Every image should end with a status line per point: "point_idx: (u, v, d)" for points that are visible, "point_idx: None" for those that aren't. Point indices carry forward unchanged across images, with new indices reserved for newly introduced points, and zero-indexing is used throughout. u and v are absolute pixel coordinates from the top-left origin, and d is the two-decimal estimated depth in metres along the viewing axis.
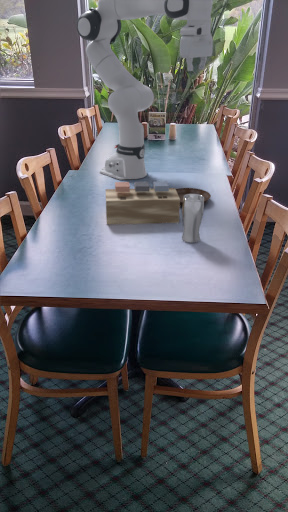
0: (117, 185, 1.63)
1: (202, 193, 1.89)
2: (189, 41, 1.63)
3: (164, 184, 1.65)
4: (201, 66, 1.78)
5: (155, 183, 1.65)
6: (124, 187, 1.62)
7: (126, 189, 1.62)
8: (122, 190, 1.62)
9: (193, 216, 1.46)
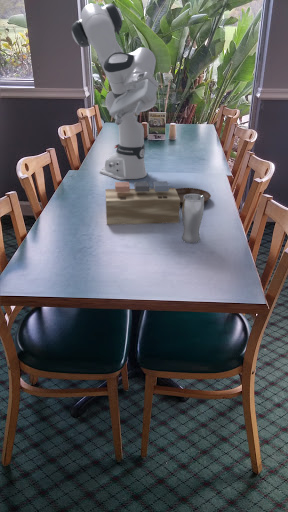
0: (117, 185, 1.63)
1: (202, 193, 1.89)
2: (155, 88, 1.53)
3: (164, 184, 1.65)
4: (120, 120, 1.59)
5: (155, 183, 1.65)
6: (124, 187, 1.62)
7: (126, 189, 1.62)
8: (122, 190, 1.62)
9: (193, 216, 1.46)
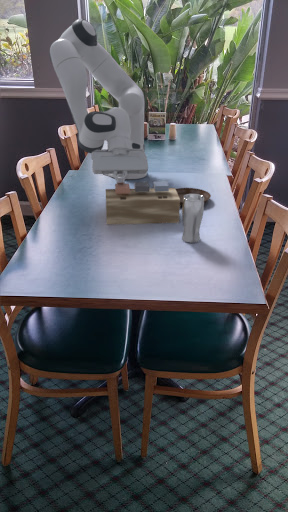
0: (117, 187, 1.63)
1: (202, 193, 1.89)
2: None
3: (164, 184, 1.65)
4: None
5: (155, 183, 1.65)
6: (124, 188, 1.62)
7: (126, 190, 1.62)
8: (122, 192, 1.63)
9: (193, 216, 1.46)
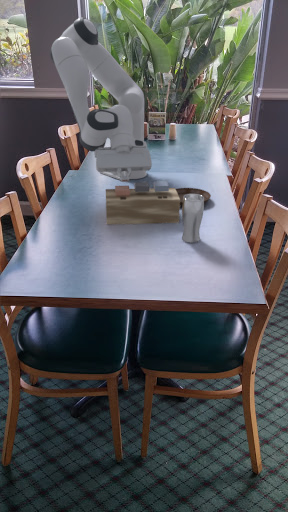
0: (117, 189, 1.63)
1: (202, 193, 1.89)
2: None
3: (164, 184, 1.65)
4: None
5: (155, 183, 1.65)
6: (124, 191, 1.62)
7: (126, 192, 1.63)
8: (122, 194, 1.63)
9: (193, 216, 1.46)
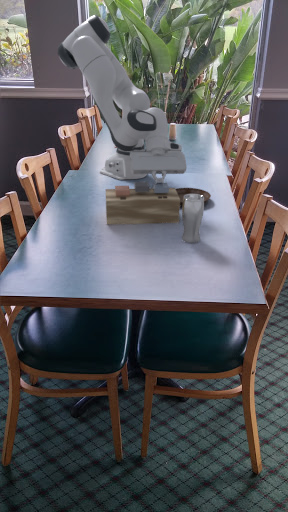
0: (117, 189, 1.63)
1: (202, 193, 1.89)
2: None
3: (163, 185, 1.65)
4: None
5: (155, 185, 1.65)
6: (124, 191, 1.62)
7: (126, 192, 1.63)
8: (122, 194, 1.63)
9: (193, 216, 1.46)
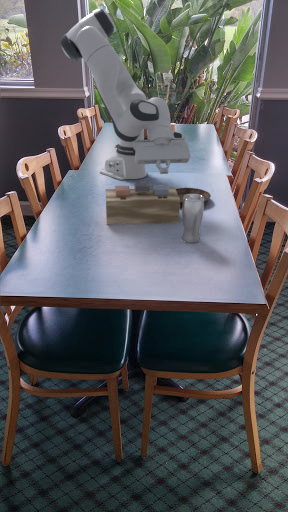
0: (117, 189, 1.63)
1: (202, 193, 1.89)
2: None
3: (163, 187, 1.65)
4: None
5: (155, 187, 1.66)
6: (124, 191, 1.62)
7: (126, 192, 1.63)
8: (122, 194, 1.63)
9: (193, 216, 1.46)
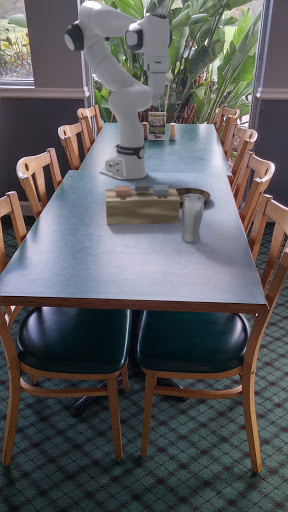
0: (117, 189, 1.63)
1: (202, 193, 1.89)
2: (163, 79, 1.54)
3: (163, 187, 1.65)
4: None
5: (155, 187, 1.66)
6: (124, 191, 1.62)
7: (126, 192, 1.63)
8: (122, 194, 1.63)
9: (193, 216, 1.46)
